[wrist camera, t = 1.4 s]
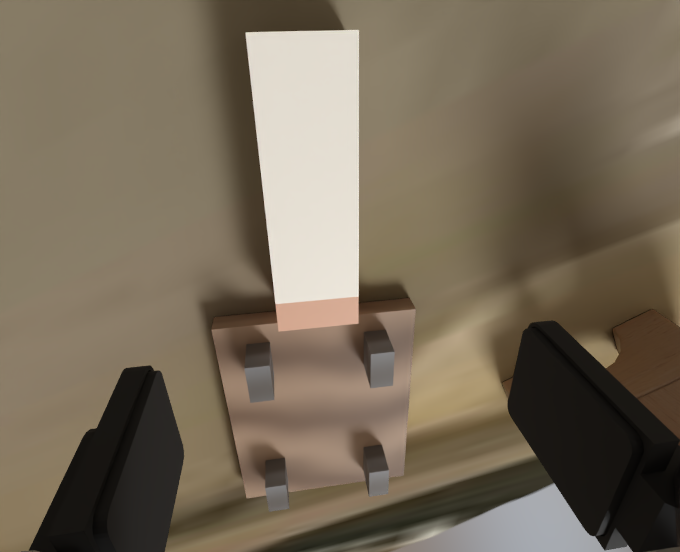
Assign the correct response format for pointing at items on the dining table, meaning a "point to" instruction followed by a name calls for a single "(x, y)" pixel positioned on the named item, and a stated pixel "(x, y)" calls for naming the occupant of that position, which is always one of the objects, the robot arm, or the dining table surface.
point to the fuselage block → (309, 171)
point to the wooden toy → (648, 365)
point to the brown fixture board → (318, 399)
